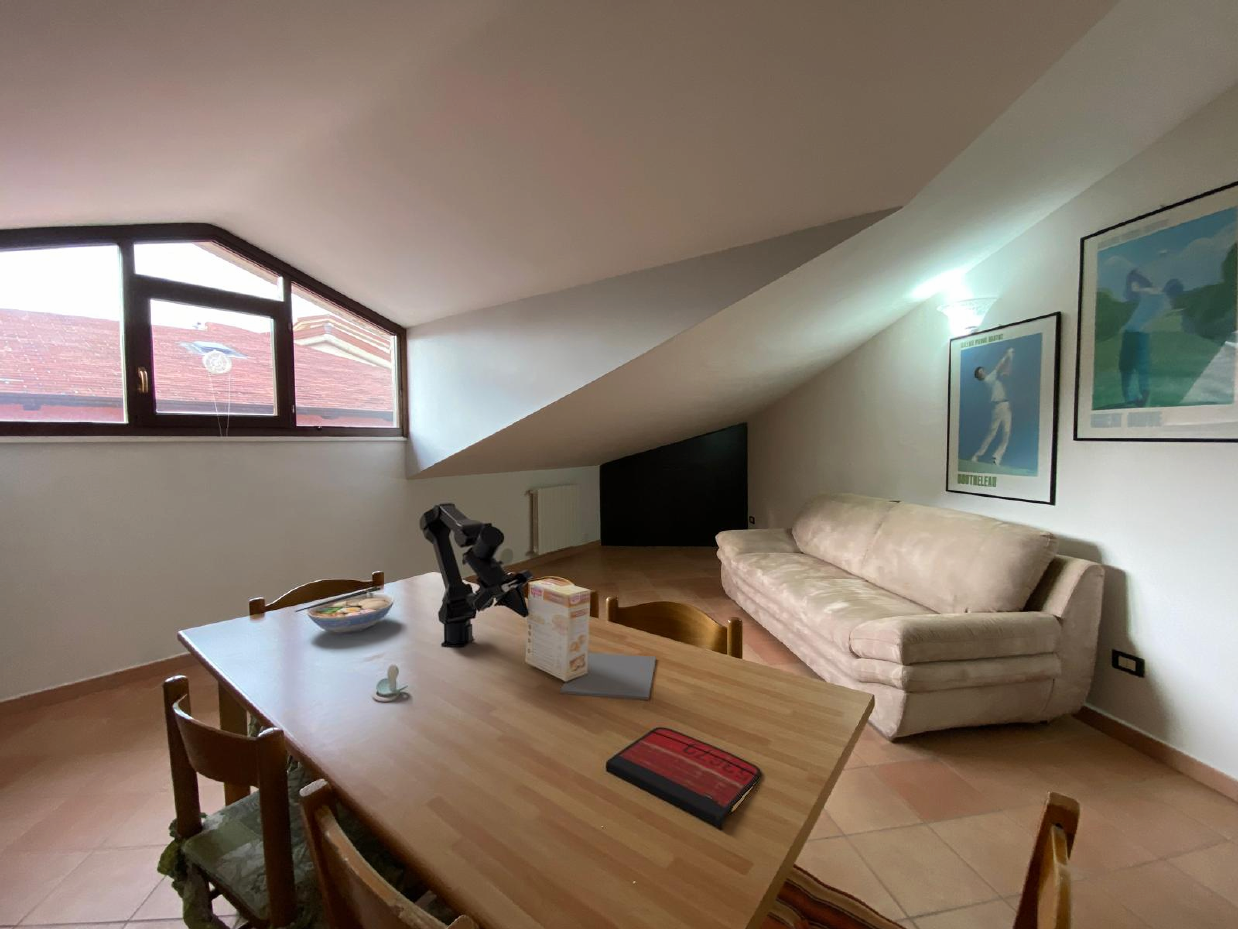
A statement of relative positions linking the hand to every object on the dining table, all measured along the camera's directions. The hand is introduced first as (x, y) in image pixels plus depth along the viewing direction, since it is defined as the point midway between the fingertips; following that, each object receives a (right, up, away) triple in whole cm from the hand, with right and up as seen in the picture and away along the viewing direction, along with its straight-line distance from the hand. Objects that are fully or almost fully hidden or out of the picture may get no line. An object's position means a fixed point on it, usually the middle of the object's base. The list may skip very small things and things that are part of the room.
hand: (526, 616), depth 120 cm
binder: (+33, -15, -38) cm, 52 cm away
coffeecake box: (+7, -12, -1) cm, 14 cm away
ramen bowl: (-56, -12, +26) cm, 63 cm away
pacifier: (-27, -14, -12) cm, 33 cm away
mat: (+20, -13, -3) cm, 24 cm away
